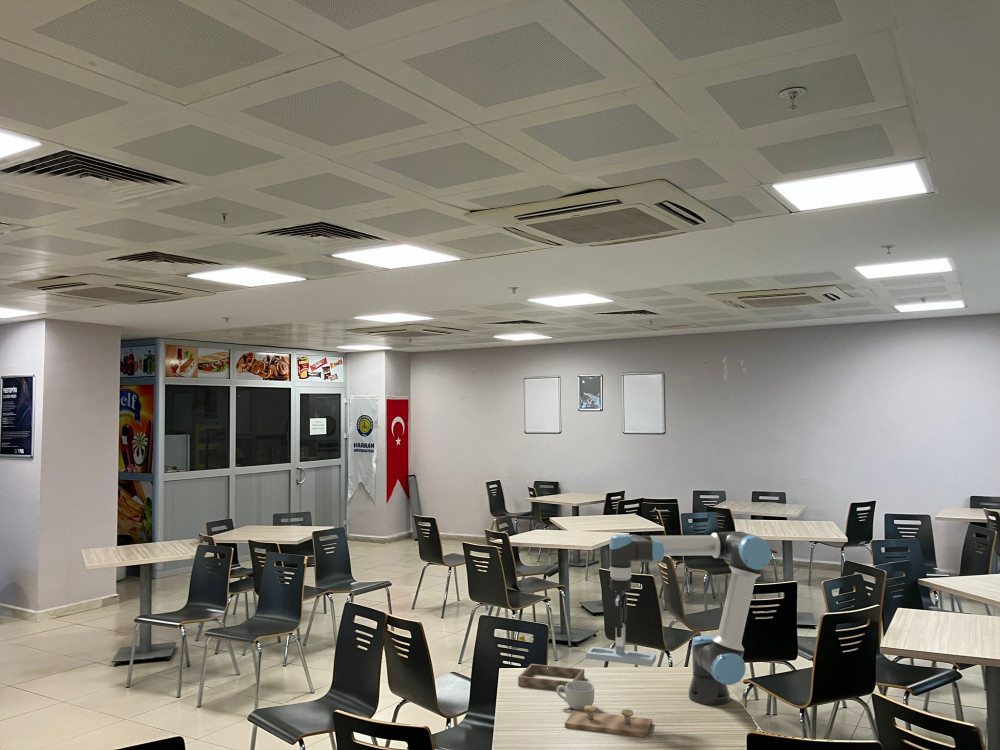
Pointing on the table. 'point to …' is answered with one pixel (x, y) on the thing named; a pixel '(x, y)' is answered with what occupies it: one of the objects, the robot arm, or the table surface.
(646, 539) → the robot arm
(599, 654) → the blue post stand
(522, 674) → the open brown wooden frame
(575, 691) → the teacup
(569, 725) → the boss board
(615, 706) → the table surface
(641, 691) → the table surface
